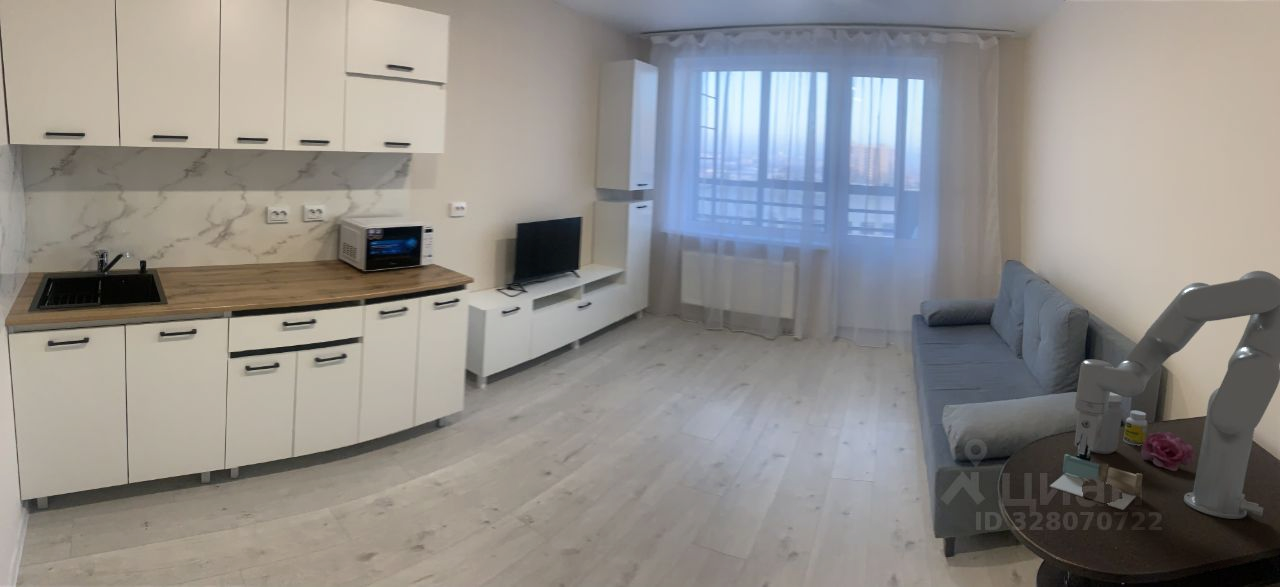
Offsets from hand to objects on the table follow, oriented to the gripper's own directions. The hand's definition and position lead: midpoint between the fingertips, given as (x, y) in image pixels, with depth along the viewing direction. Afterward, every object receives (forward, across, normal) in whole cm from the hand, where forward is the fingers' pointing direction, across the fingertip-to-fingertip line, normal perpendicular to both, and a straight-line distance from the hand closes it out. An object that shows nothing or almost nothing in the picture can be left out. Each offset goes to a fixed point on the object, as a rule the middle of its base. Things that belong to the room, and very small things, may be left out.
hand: (1081, 469), depth 206 cm
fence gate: (+1, -3, 0) cm, 3 cm away
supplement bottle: (+2, +38, -8) cm, 39 cm away
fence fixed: (+2, -5, -9) cm, 11 cm away
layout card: (+2, -8, -4) cm, 9 cm away
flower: (+2, +25, -17) cm, 30 cm away
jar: (+2, +25, 0) cm, 25 cm away
